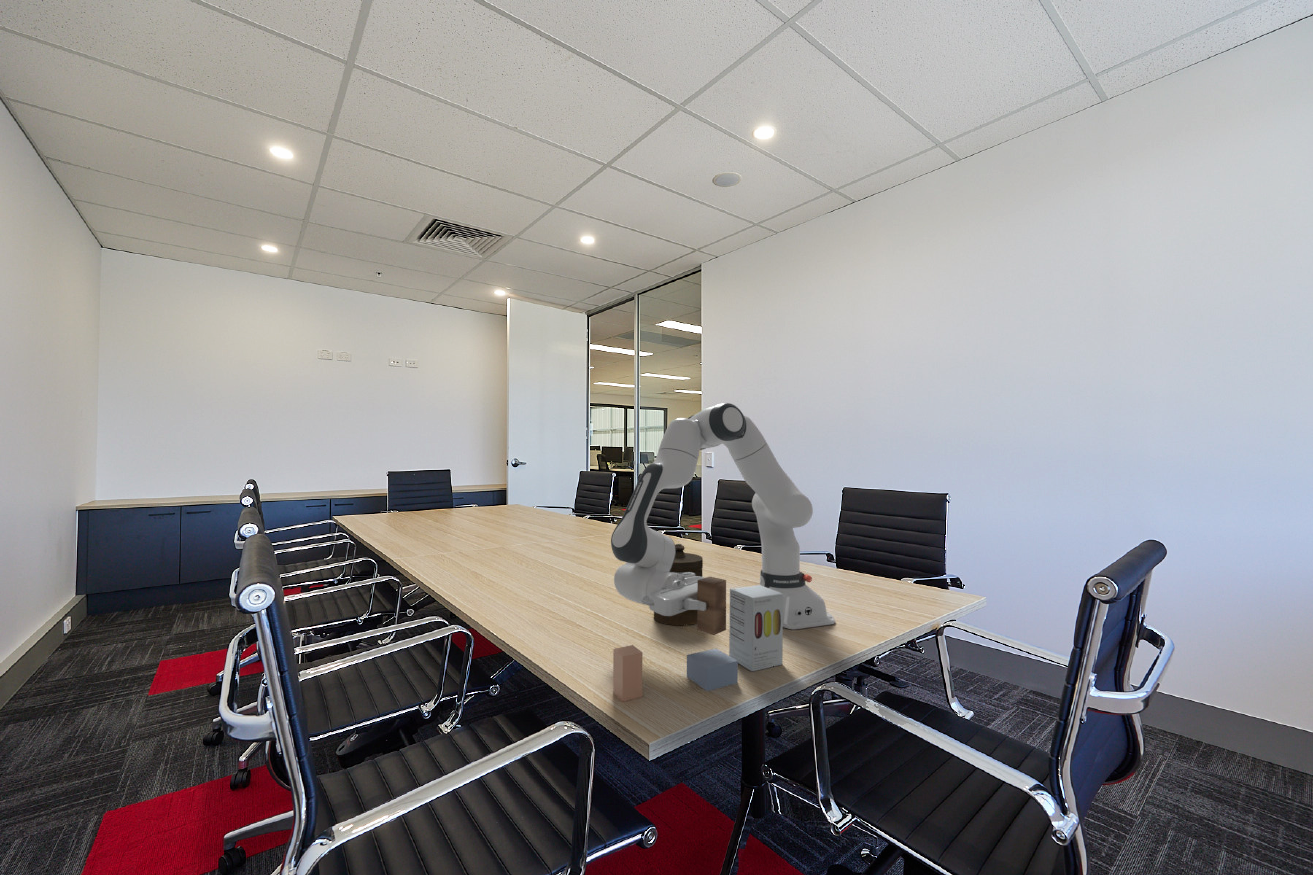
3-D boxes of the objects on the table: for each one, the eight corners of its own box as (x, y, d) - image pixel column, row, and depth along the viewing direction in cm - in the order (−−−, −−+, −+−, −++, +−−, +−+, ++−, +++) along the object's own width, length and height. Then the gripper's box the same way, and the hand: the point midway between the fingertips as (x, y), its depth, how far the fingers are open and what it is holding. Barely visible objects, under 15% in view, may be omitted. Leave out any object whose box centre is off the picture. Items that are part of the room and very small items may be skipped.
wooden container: (696, 608, 163) (696, 539, 164) (708, 624, 149) (708, 548, 149) (650, 611, 161) (650, 540, 162) (658, 627, 146) (658, 549, 147)
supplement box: (751, 672, 117) (751, 597, 117) (727, 657, 125) (727, 588, 126) (784, 664, 121) (784, 592, 122) (759, 650, 130) (759, 583, 130)
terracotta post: (632, 687, 109) (632, 644, 110) (642, 696, 105) (642, 652, 106) (613, 692, 107) (613, 648, 107) (622, 701, 103) (622, 656, 104)
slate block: (716, 670, 119) (716, 648, 119) (737, 684, 112) (737, 660, 112) (686, 677, 115) (686, 654, 115) (706, 692, 108) (707, 668, 108)
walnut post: (709, 625, 117) (709, 576, 117) (726, 629, 114) (726, 579, 114) (697, 630, 113) (697, 579, 114) (713, 635, 110) (713, 583, 111)
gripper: (637, 586, 115) (684, 599, 106) (694, 570, 130) (740, 580, 121) (636, 614, 115) (684, 630, 105) (694, 595, 130) (740, 607, 120)
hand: (715, 603), depth 113 cm, fingers closed on walnut post, 4 cm apart
